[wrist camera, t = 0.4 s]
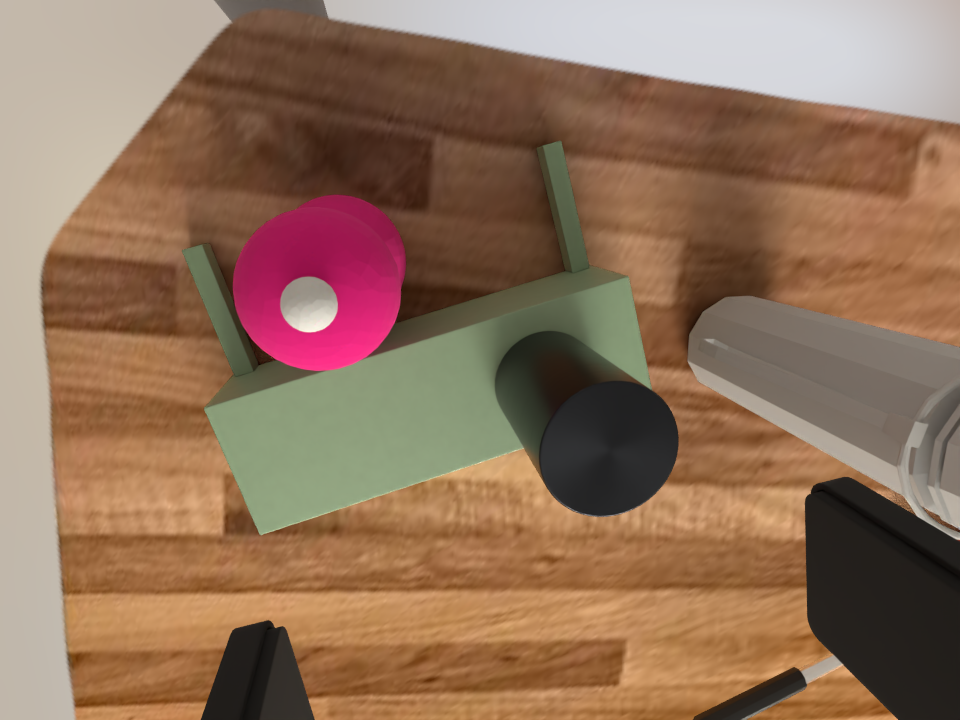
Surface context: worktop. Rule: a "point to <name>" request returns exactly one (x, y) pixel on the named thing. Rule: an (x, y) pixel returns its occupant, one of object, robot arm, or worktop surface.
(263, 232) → the pepper mill
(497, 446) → the riser
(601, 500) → the spice tin
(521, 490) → the worktop surface
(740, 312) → the water bottle
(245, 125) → the worktop surface
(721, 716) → the frying pan
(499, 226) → the worktop surface
